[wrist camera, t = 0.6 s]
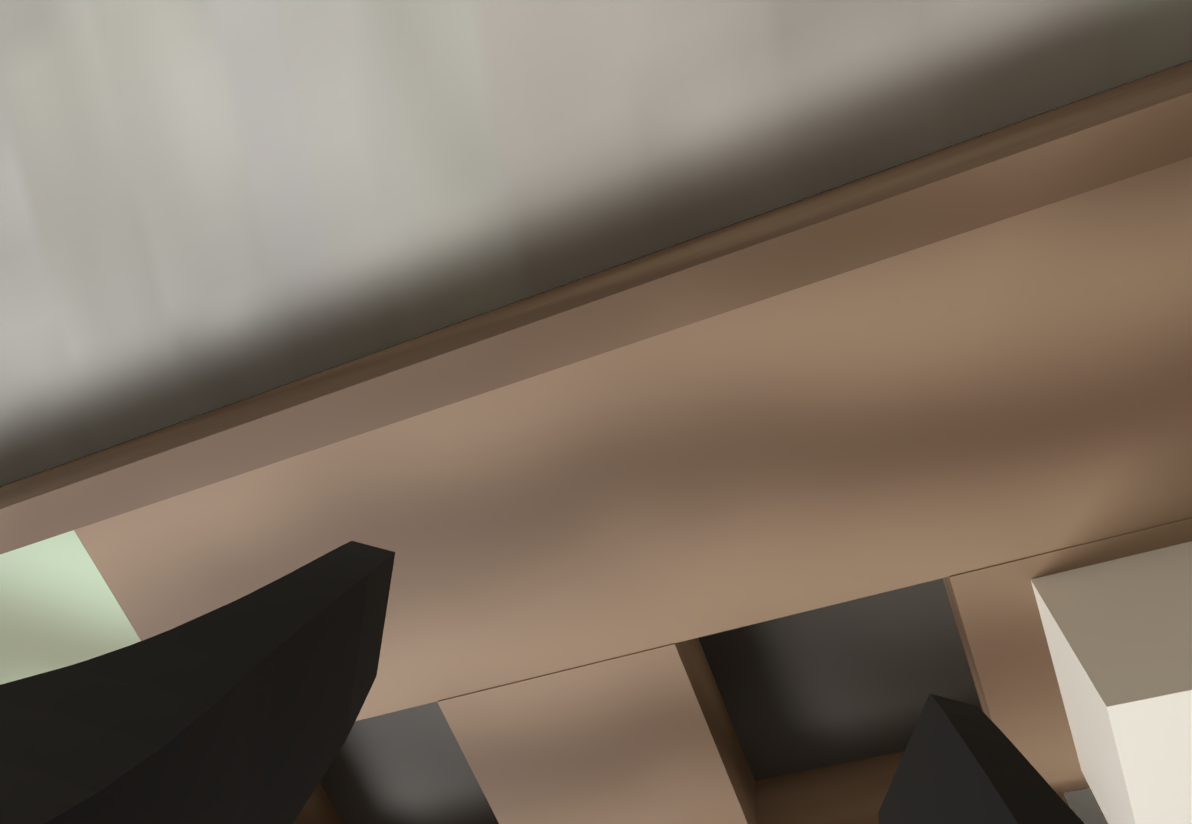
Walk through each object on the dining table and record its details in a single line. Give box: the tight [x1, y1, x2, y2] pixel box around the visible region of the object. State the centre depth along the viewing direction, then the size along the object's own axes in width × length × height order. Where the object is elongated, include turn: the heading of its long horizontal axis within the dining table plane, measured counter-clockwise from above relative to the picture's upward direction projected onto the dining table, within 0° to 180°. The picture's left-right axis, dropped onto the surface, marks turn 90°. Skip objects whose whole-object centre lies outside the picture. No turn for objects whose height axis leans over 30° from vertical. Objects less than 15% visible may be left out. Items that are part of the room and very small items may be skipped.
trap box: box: [0, 61, 1192, 824], centre depth 21 cm, size 15×34×3 cm, turn 111°
